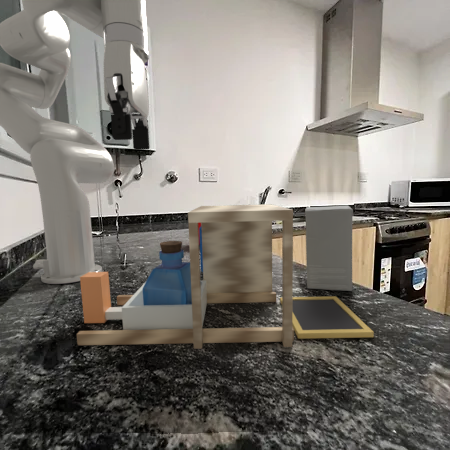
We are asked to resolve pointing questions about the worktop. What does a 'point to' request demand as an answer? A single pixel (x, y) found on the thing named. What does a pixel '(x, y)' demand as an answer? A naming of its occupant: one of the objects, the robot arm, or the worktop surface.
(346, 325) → the yellow framed grey pad
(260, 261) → the tunnel
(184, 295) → the perfume bottle
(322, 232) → the skincare box
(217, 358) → the worktop surface
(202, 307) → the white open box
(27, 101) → the robot arm
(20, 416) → the worktop surface
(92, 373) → the worktop surface
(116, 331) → the track
